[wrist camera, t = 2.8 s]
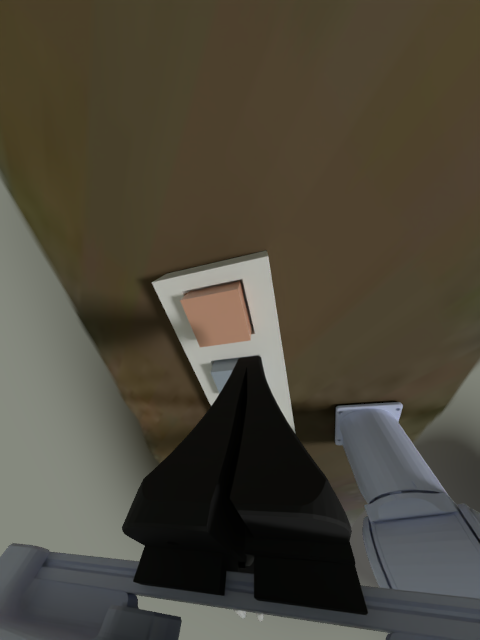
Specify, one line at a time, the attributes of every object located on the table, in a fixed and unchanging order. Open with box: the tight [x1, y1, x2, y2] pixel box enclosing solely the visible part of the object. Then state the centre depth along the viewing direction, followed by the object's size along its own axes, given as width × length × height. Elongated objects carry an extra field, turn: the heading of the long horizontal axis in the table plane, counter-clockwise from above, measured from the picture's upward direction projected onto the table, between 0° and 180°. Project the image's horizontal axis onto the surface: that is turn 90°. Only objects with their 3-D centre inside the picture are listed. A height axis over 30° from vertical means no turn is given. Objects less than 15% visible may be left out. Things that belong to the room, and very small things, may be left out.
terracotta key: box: [180, 281, 252, 347], centre depth 16 cm, size 5×5×2 cm
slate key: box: [211, 355, 258, 393], centre depth 19 cm, size 5×5×2 cm
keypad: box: [152, 250, 295, 433], centre depth 21 cm, size 24×10×3 cm, turn 13°
